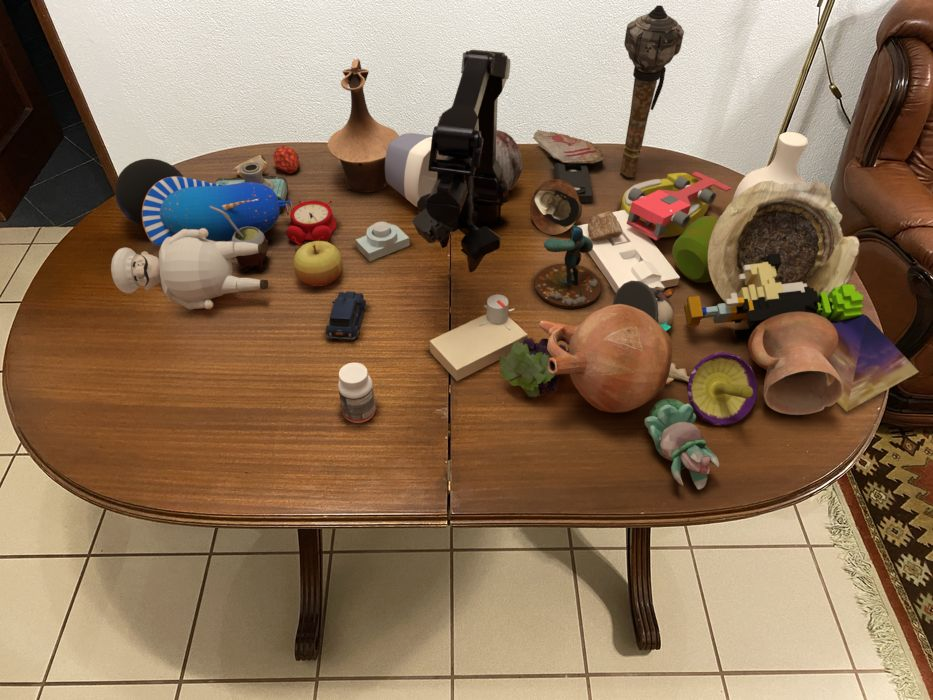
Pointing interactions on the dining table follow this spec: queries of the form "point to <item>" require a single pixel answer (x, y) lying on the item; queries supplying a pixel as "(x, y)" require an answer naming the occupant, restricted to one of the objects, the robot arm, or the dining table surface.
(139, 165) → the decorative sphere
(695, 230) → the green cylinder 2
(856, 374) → the decorative sculpture
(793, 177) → the vase
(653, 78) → the mace
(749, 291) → the toy
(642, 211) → the race car
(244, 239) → the mate gourd
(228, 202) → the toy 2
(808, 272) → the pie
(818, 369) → the ceramic jug
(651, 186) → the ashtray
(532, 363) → the fruit
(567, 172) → the vhs tape
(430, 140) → the bowl
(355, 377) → the pill bottle
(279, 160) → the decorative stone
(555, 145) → the stone artifact
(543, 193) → the brown hollow round piece
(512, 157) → the sculpture
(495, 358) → the panel
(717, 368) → the decorative mushroom
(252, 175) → the camera
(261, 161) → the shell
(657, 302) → the figurine
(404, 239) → the control knob block
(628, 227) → the building model
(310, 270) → the apple
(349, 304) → the toy car
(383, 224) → the flush button
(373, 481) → the dining table surface
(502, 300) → the knob
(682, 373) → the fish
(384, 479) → the dining table surface
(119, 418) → the dining table surface
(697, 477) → the toy
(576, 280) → the figurine
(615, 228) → the stone
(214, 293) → the figurine
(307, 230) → the alarm clock
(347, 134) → the brown clay flask
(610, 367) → the jug
